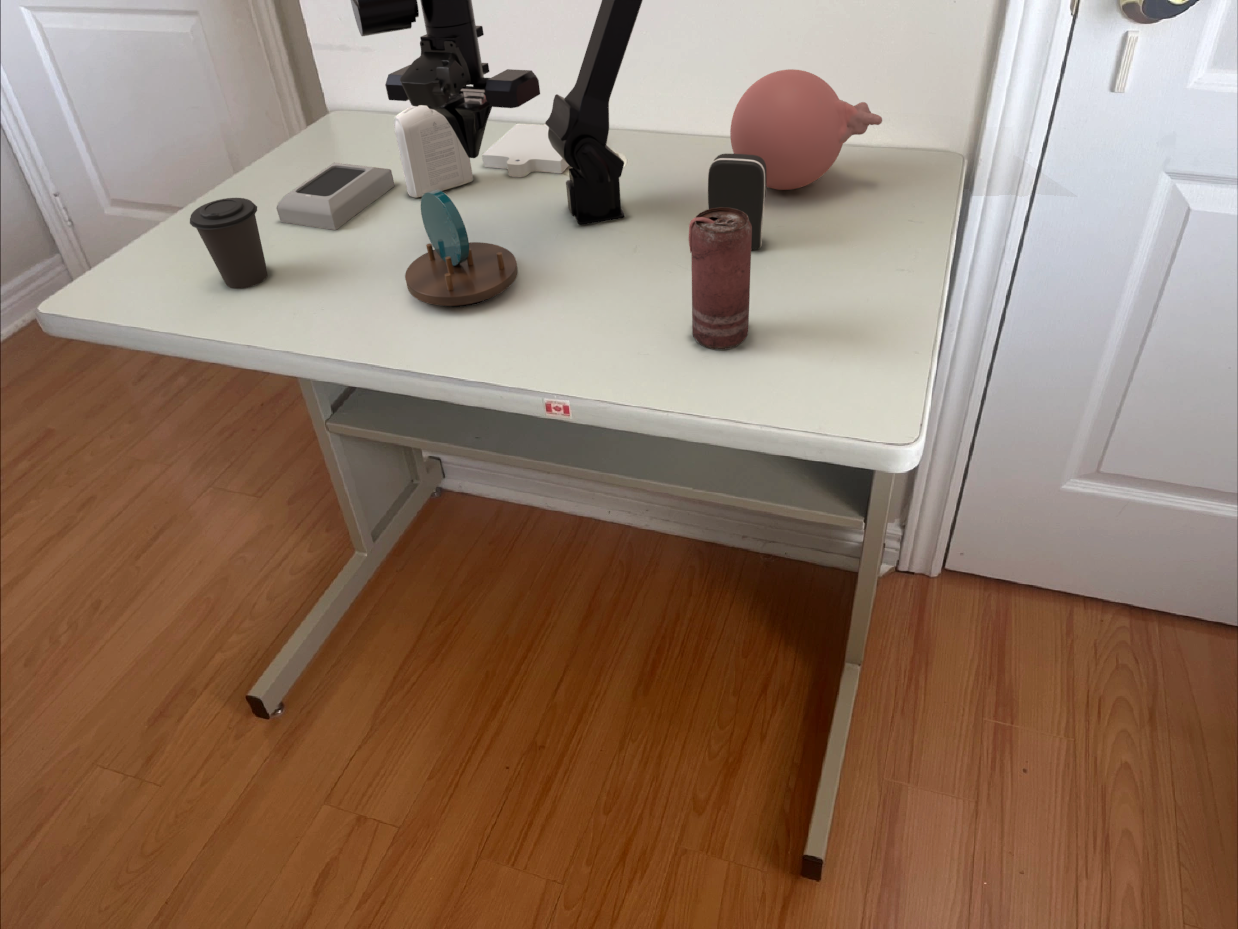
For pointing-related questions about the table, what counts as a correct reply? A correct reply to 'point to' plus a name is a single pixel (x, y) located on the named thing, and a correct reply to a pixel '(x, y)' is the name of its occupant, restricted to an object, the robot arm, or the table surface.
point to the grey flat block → (334, 195)
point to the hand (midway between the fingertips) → (473, 157)
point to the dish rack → (456, 260)
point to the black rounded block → (739, 188)
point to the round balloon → (795, 126)
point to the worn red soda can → (720, 277)
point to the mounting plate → (524, 152)
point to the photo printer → (430, 151)
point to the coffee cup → (232, 240)
